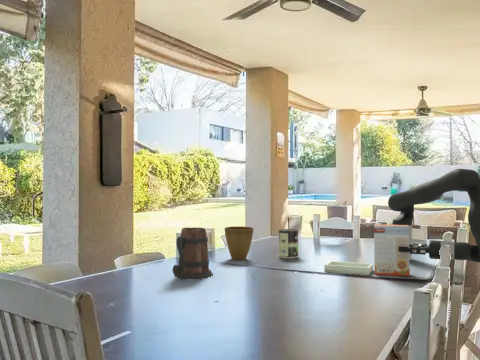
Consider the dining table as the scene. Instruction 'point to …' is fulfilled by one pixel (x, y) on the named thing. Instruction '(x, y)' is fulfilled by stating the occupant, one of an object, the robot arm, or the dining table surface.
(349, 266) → the tray
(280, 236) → the coffee can
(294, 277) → the dining table surface
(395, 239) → the cracker box
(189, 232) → the tankard
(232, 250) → the plant pot
